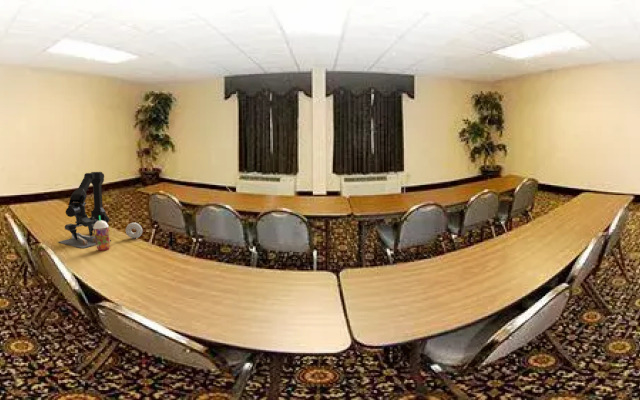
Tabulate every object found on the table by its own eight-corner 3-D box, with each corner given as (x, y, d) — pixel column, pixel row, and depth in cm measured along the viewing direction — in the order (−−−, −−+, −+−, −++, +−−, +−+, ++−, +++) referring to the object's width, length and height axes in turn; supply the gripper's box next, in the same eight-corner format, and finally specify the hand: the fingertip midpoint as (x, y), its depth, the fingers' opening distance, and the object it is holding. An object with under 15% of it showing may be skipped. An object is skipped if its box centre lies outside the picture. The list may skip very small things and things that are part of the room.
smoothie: (96, 252, 272) (91, 218, 268) (95, 249, 279) (90, 215, 275) (112, 250, 276) (108, 216, 272) (110, 246, 283) (106, 213, 279)
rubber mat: (86, 235, 310) (86, 234, 310) (111, 241, 295) (111, 240, 295) (58, 242, 296) (58, 241, 295) (82, 248, 280) (82, 247, 280)
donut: (125, 239, 297) (123, 223, 295) (127, 238, 301) (125, 222, 299) (142, 238, 298) (140, 222, 296) (143, 237, 301) (142, 221, 300)
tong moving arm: (75, 239, 299) (74, 235, 299) (78, 238, 300) (77, 235, 299) (84, 244, 285) (84, 241, 285) (87, 244, 286) (86, 240, 286)
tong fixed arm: (72, 238, 301) (71, 233, 301) (78, 237, 305) (77, 231, 304) (92, 243, 288) (92, 237, 288) (99, 241, 292) (98, 236, 291)
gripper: (72, 217, 282) (76, 243, 285) (102, 211, 297) (105, 235, 300) (62, 215, 288) (66, 241, 291) (92, 209, 303) (95, 233, 306)
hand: (83, 237), depth 297 cm, fingers open, 9 cm apart
